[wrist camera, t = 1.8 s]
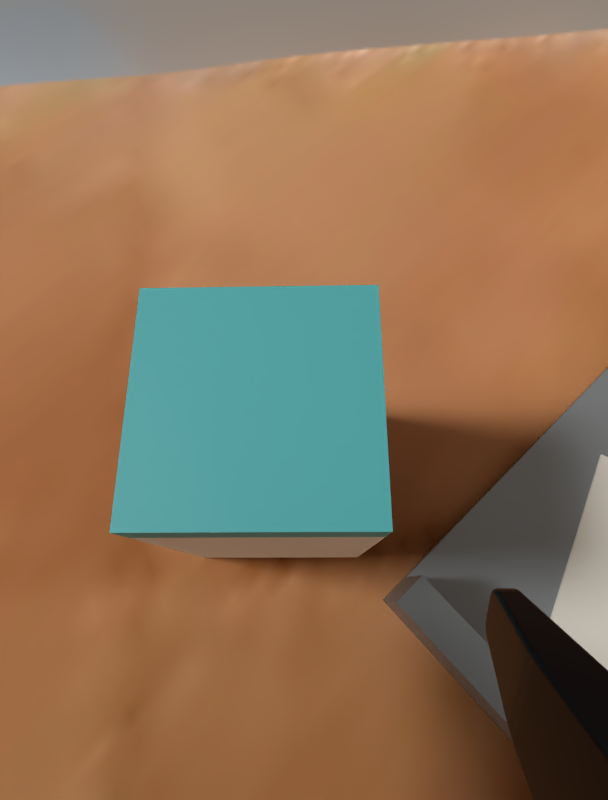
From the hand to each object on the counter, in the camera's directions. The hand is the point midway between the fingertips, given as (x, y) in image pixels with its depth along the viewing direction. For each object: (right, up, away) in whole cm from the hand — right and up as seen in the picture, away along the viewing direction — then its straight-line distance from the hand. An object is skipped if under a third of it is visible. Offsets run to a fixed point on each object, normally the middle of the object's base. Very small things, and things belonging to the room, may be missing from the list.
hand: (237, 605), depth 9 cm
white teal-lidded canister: (0, 0, +12) cm, 12 cm away
